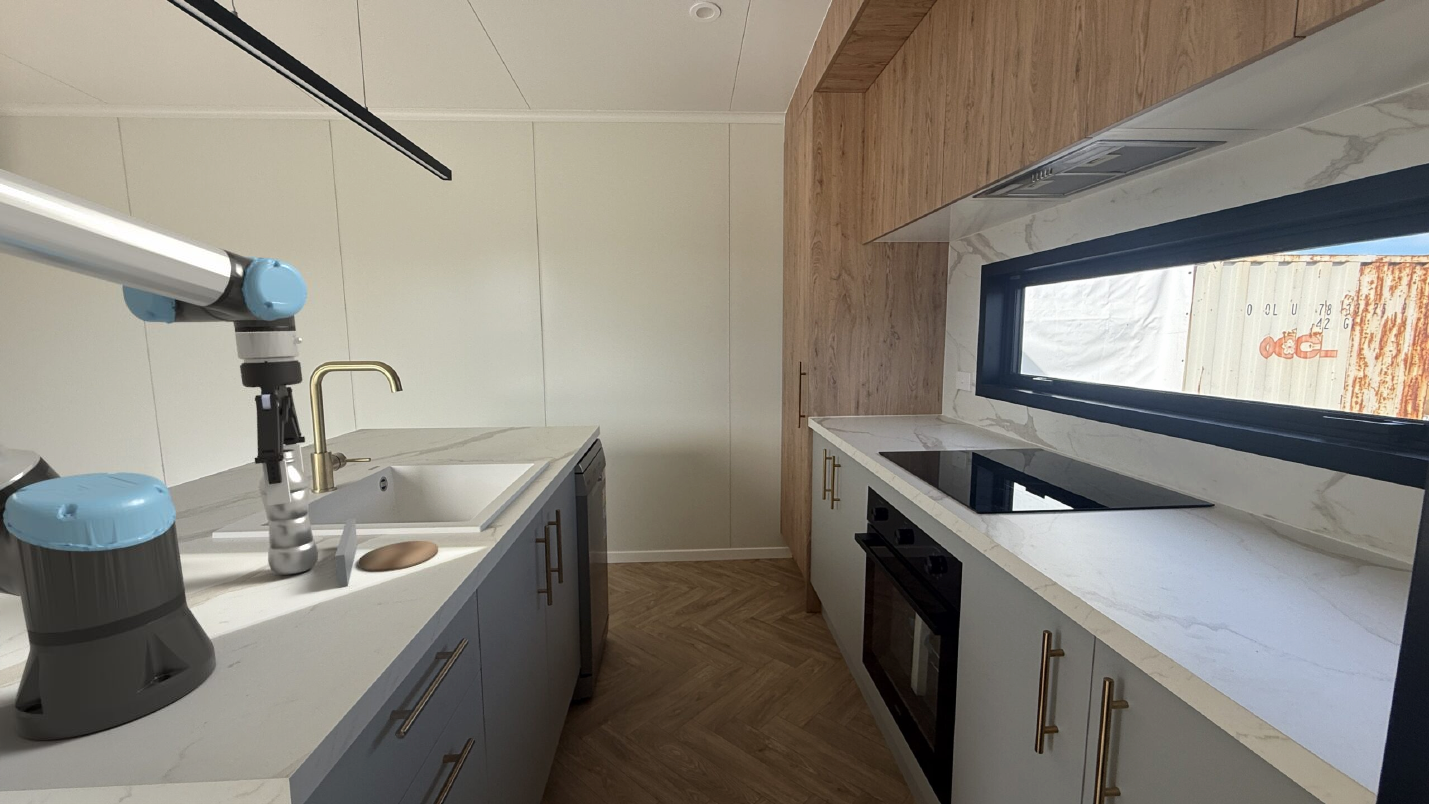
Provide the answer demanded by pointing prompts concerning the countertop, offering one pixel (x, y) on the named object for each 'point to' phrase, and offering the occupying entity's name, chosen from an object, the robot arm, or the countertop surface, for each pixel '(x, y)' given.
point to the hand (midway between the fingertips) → (287, 492)
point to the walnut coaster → (398, 556)
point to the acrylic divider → (346, 553)
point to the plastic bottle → (290, 524)
